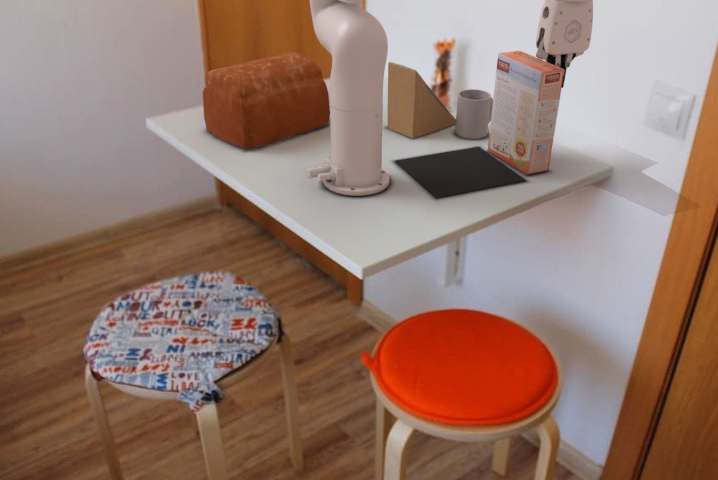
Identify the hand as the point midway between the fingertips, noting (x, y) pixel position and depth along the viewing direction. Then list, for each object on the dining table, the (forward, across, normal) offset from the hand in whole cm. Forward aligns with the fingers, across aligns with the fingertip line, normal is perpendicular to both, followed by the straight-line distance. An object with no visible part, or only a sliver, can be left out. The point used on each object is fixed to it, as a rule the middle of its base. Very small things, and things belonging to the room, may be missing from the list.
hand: (555, 86), depth 144 cm
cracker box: (+15, -7, 0) cm, 17 cm away
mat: (+15, -21, 0) cm, 26 cm away
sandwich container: (+15, -16, +25) cm, 33 cm away
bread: (+15, -49, +36) cm, 63 cm away
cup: (+15, -7, +17) cm, 24 cm away
